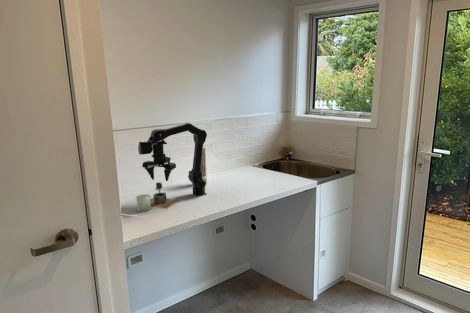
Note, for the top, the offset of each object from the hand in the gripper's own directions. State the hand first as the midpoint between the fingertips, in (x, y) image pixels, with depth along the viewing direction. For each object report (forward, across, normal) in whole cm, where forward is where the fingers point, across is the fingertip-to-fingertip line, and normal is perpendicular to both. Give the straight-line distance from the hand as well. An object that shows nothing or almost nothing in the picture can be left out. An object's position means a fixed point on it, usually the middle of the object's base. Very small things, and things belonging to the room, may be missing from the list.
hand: (159, 180), depth 200 cm
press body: (+12, 0, +2) cm, 13 cm away
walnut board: (+13, 0, +2) cm, 13 cm away
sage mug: (+14, +1, +14) cm, 19 cm away
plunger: (+8, 0, +2) cm, 8 cm away
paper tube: (+13, -4, -41) cm, 43 cm away
